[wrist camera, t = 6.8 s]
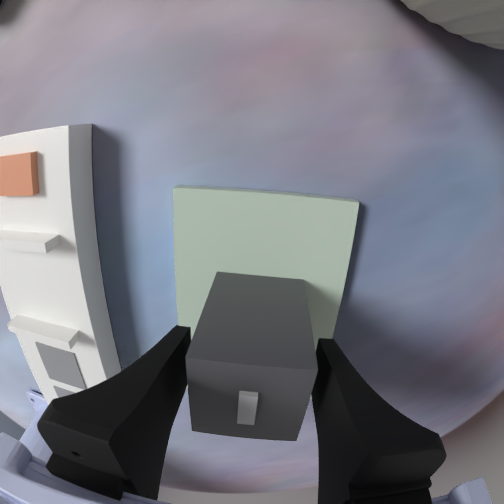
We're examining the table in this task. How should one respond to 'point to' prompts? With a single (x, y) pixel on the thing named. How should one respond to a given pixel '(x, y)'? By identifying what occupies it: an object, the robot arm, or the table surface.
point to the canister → (466, 18)
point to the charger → (252, 358)
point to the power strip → (54, 259)
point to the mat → (262, 245)
